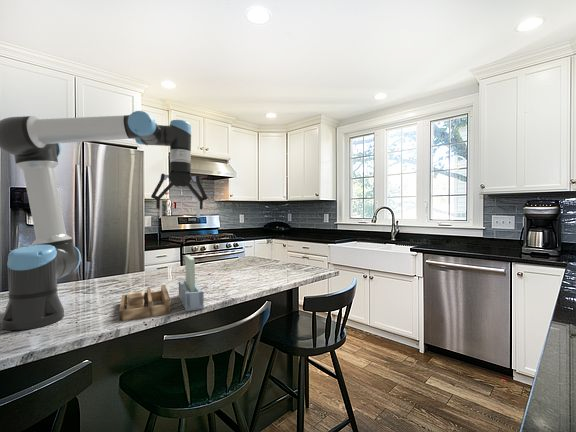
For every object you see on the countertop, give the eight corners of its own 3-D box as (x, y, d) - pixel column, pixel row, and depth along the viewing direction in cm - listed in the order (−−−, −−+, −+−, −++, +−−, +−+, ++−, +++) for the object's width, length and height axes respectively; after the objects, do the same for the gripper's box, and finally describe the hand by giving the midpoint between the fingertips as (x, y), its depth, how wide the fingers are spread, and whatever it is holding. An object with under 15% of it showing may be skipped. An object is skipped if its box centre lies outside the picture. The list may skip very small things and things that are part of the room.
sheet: (190, 304, 110) (190, 259, 109) (185, 295, 120) (185, 255, 120) (195, 303, 110) (194, 259, 110) (190, 295, 121) (189, 254, 121)
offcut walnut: (129, 306, 99) (129, 298, 99) (128, 302, 103) (128, 294, 103) (143, 303, 101) (143, 296, 101) (141, 300, 105) (141, 292, 105)
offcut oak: (126, 318, 98) (126, 306, 98) (127, 312, 104) (127, 301, 104) (144, 316, 101) (143, 304, 100) (144, 310, 106) (144, 299, 106)
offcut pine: (127, 309, 108) (126, 296, 108) (130, 304, 113) (130, 292, 113) (142, 307, 109) (142, 295, 109) (145, 302, 115) (145, 290, 115)
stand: (185, 311, 105) (185, 293, 105) (178, 296, 123) (178, 281, 123) (203, 308, 108) (203, 291, 108) (194, 294, 126) (194, 279, 125)
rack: (119, 320, 96) (119, 304, 96) (122, 303, 114) (122, 289, 114) (170, 313, 103) (170, 298, 103) (165, 297, 121) (165, 285, 121)
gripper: (144, 158, 108) (143, 217, 109) (215, 163, 119) (214, 218, 119) (144, 160, 115) (144, 217, 116) (211, 165, 126) (210, 217, 126)
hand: (179, 217), depth 118 cm, fingers open, 13 cm apart
